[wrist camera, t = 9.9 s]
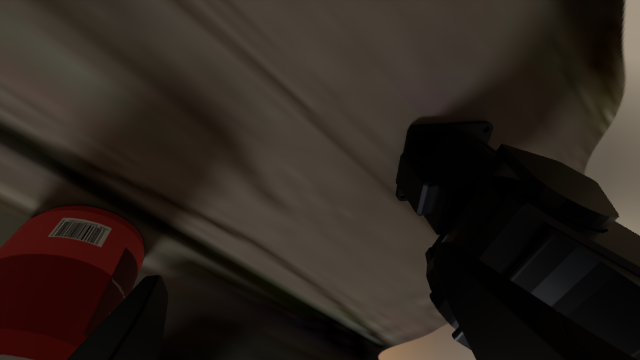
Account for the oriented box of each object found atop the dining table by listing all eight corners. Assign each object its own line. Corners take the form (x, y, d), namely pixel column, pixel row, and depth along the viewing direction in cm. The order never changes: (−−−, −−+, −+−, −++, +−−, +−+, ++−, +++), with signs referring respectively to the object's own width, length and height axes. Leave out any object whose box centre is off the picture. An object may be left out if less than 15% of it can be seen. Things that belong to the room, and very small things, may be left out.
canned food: (-4, 219, 21) (-206, 405, 12) (110, 188, 21) (-2, 348, 12) (71, 287, 25) (-34, 461, 16) (166, 260, 25) (114, 418, 16)
